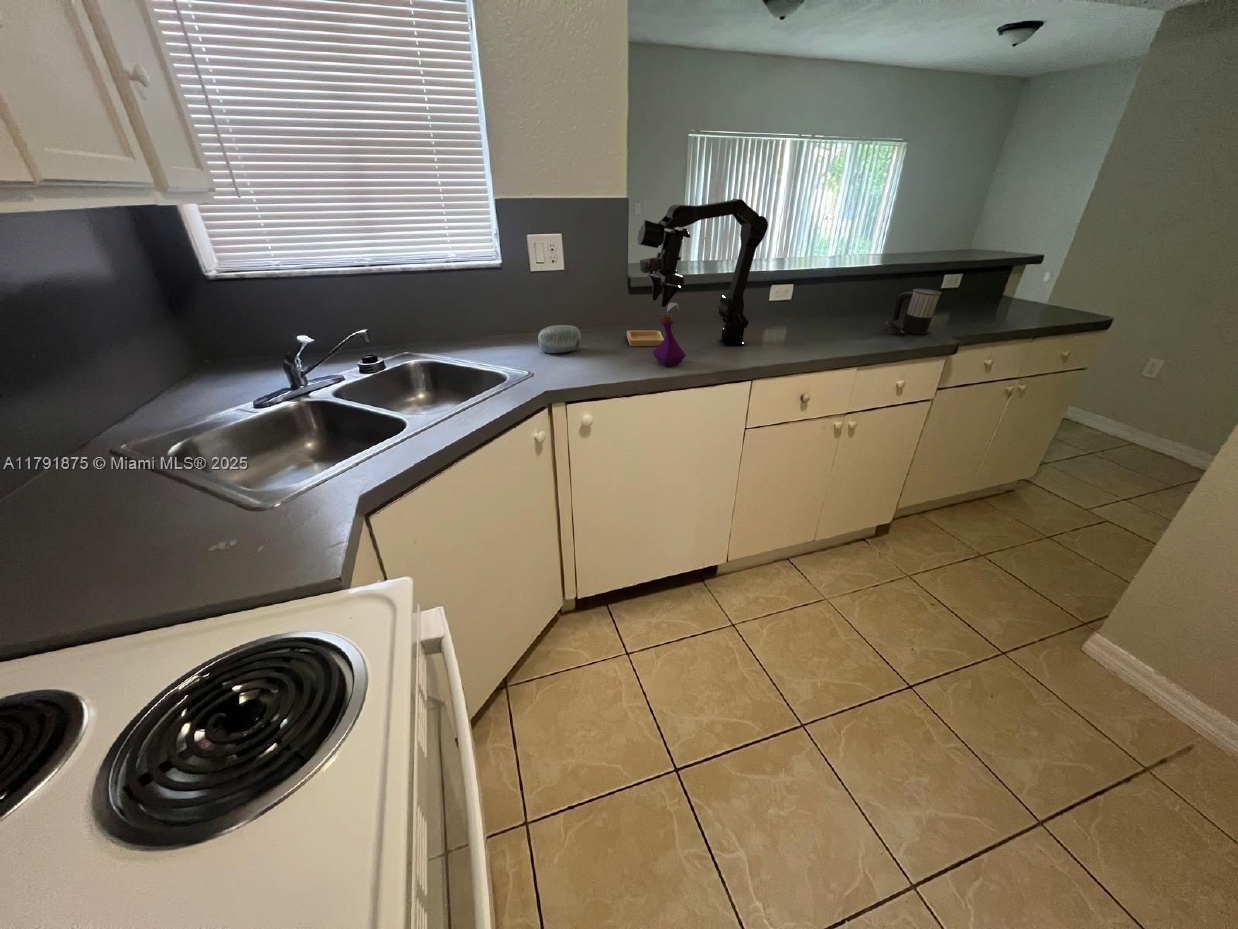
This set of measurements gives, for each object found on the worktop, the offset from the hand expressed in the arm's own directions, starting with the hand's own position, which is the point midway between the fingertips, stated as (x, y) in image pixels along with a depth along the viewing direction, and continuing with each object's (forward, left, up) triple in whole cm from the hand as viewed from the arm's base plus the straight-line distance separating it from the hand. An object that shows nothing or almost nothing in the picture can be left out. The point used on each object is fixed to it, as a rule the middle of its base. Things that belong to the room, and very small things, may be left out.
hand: (658, 303), depth 154 cm
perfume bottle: (-1, +17, -15) cm, 22 cm away
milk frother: (-98, -16, -15) cm, 101 cm away
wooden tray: (+3, -7, -14) cm, 16 cm away
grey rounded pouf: (+32, +4, -15) cm, 35 cm away
